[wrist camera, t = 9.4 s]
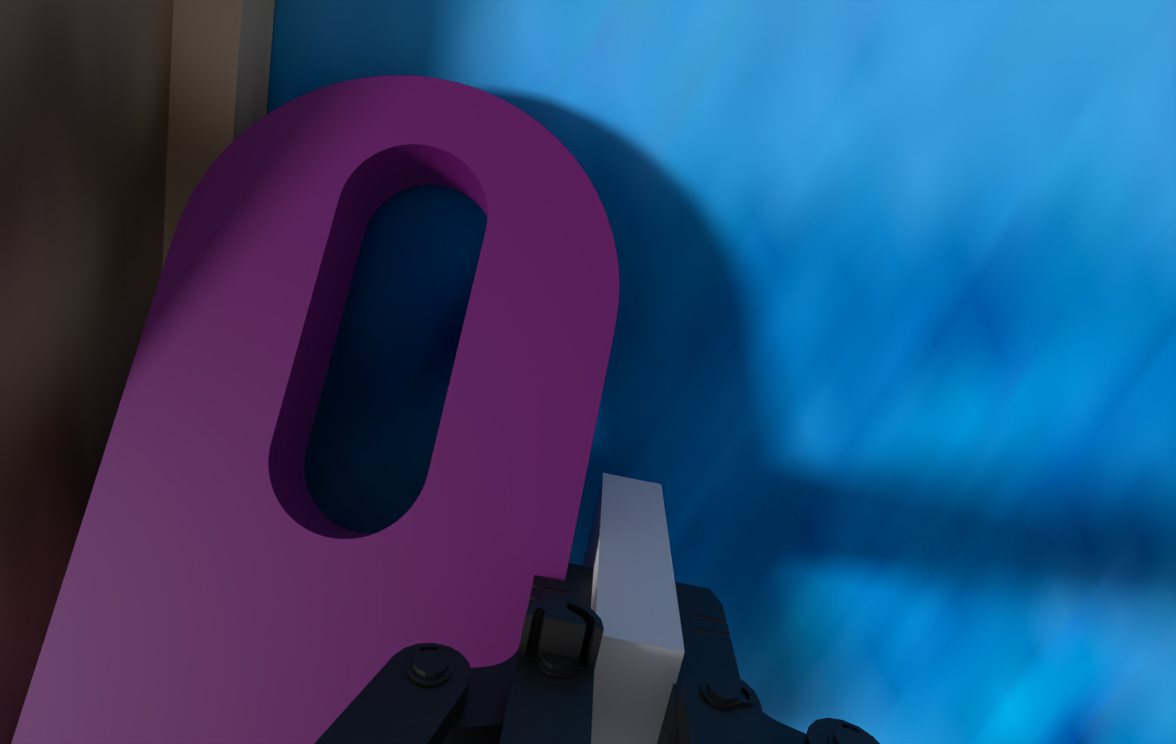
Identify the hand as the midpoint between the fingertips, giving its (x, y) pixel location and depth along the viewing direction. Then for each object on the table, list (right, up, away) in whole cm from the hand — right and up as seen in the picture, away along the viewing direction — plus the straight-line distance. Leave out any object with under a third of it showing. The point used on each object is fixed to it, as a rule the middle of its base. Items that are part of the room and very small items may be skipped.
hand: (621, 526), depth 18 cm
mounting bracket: (-6, +2, +2) cm, 6 cm away
